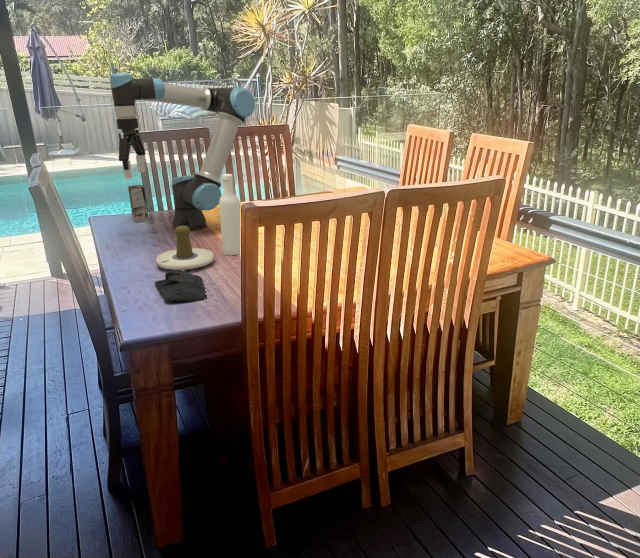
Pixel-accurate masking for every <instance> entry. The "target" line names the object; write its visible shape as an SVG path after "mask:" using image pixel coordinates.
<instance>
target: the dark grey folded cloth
mask: <svg viewBox="0 0 640 558" xmlns="http://www.w3.org/2000/svg"><path fill="white" fill-rule="evenodd" d="M164 275H165V276H164V277H165V279H164V278H163V279H160V280H155V281H154V284H155V287H156V288H157V290H158V291H159V293H160V294H161V296H163V299H164V300H165V301H166V302H168V303H174V301H176V302H188V300H189V302H190V301H191V302H192V300H197V301H201V300H200V299H204V298H207V295H208V294H207V295H206V294H205V293H206V292H207V288H206V287H204V286H205V284H203V283H204V280H203V277H202V276H200V275H197V274H193V273H190V272H188V271H182V270H174V269H167V270H166V272H165V274H164ZM205 289H206V291H205ZM186 300H187V301H186ZM204 300H205V299H204Z"/></svg>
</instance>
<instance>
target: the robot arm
mask: <svg viewBox="0 0 640 558" xmlns="http://www.w3.org/2000/svg"><path fill="white" fill-rule="evenodd" d="M109 84H110V89H111V90H110V91H111V94H112V95H111V96H112V101H113V107H114V108H113V111H114V112H115V117H116V120H115V121H116V126H117V127H116V128H117V129H118V130H121V131H122V132H119V133H118V139H119V140H118V161H119V162H122V169H123V174H124V179H126V180H127V179H129V180H130V179H133V177H134V176H133V171H132V164H131V160H130V154H131V147H132V149H133V150H134V152H135V154H136V155H135V160H136V166H137V167H136V168H137V172H138V173H145V172H146V166H145V160H144V159H145V157H144V156H146V151H145V150H146V149H145V147H144V144H143V141H142V138H141V135H140V131H139V127H140V125H139V120H138V118H137V116H138V112H137V105H136V101H149V102H156V103H164V104H170V105H171V104H172V105H180V106H186V107H193V108H201V110H202V111H204V112H205V111H207V112H212V113H215V114H217V115H218V117H219V119H218V122H217V125H216V127H215V130H214V133H213V135H212V138H211V141H210V144H209V146H208V149H207V151H206V155H205V157H204V160H203V161H202V165H201V168H200V170H199V171H198V172H195V173H194V174H192V175H191V174H190V175H182V176H174V177H173V178H172V180H171V187H172V195H173V204H174V205H173V207H174V214H173V218H172V223H171V224H172V229H173V230H175V228H176V227H178V226H187V227H189V229H190V230H191V231H197V230H196V229H198V230H202V229H205V228H206V227H207V226H208V225H207V219H206V217H205V215H204V212H203V211H212V210H214V209H215V208H217V206H219V201H220V197H221V196H222V192H221V189H220V188H221V185H222V182H221V179H220V178H221V175H222V173H223V170H224V168H225V165H226V162H227V160H228V157H229V154H230V150H231V149H232V145H233V143H234V140H235V137H236V135H237V132H238V130H239V127H241V126H243V125H245V122H246V119H247V118H248V117H250V116H251V115H252V114H253V113H254V111H255V109H256V100H255V97H254V95H253V94H252V92H251V91H250V90H249V89H247V88H245V87H241V86H235V87H231V86H230V87H227V86H225V87H205V86H204V87H202V88H198V87H197V88H196V87H189V86H184V85H183V86H182V85H175V84H169V83H164V81H163V80H162V78H159V77H155V78H154V77H151V78H148V77H147V78H132V75H131V73H129V72H126V73H124V72H122V73H121V72H120V73H111V74H110V75H109ZM204 227H205V228H204ZM201 228H202V229H201Z"/></svg>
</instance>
